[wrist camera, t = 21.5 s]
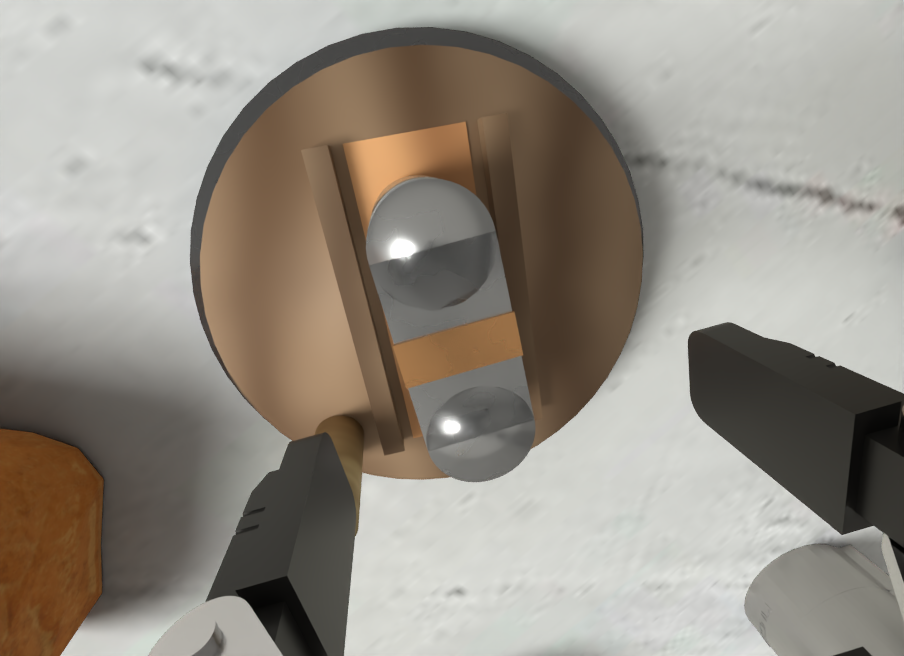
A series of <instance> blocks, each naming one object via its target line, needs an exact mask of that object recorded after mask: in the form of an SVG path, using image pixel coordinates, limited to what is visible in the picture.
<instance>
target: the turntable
mask: <svg viewBox="0 0 904 656" xmlns="http://www.w3.org/2000/svg"><path fill="white" fill-rule="evenodd" d="M411 175H424V176H429V177H434V178H438V179H443V180H447V181H451V182H454V183H456V184H459V185H461V186H463V187H465V188H466V189H468V190H469V191H471V192H472V193H473V194H475V195H476V196H477V197H478V198H479V199H480V200H481V202H482V203H483V204H484V206H485V207H486V208H487V210H488V212H489V214H490V216H491V218H492V220H493V223H494V226H495V230H496V235H497V240H498V244H499V249H500V254H501V259H502V264H503V269H504V274H505V278H506V283H507V288H508V293H509V298H510V303H511V308H512V311H514V312H515V317H516V321H517V326H518V331H519V336H520V341H521V346H522V351H523V355H522V361H523V366H524V371H525V376H526V381H527V386H528V390H529V395H530V400H531V405H532V410H533V415H534V420H535V437H534V441H533V444H532V446H531V449H532V448H533V447H535V446H537V445H539V444H540V443H541V442H543V441H544V440H546V439H547V438H549V437H550V436H551V435H553V434H554V433H556V432H557V431H558V430H560V429H561V428H562V427H563V426H564V425H565V424H566V423H568V422H569V421H570V420H571V419H572V418H573V417H574V416H576V415H577V414H578V412H579V411H580V410H581V409H582V408H583V407H584V406H585V405H586V404H587V403H588V402H589V400H590V399H591V398H592V397H593V396H594V395H595V393H596V392H597V390H598V389H599V388H600V386H601V385H602V384H603V382H604V381H605V380H606V378H607V377H608V375H609V373H610V372H611V370H612V368H613V366H614V365H615V363H616V361H617V359H618V358H619V356H620V354H621V352H622V349H623V347H624V345H625V342H626V340H627V338H628V335H629V333H630V330H631V327H632V323H633V320H634V317H635V313H636V310H637V306H638V300H639V294H640V288H641V282H642V263H643V250H642V238H641V227H640V222H639V217H638V213H637V208H636V204H635V199H634V196H633V194H632V191H631V188H630V185H629V183H628V180H627V177H626V174H625V172H624V170H623V168H622V166H621V164H620V163H619V161H618V159H617V157H616V155H615V153H614V151H613V149H612V147H611V146H610V144H609V143H608V142H607V140H606V139H605V138H604V136H603V135H602V133H601V132H600V131H599V129H598V128H597V126H596V125H595V124H594V122H593V121H592V120H591V119H590V118H589V117H588V116H587V115H586V114H585V113H584V112H583V111H582V110H581V109H580V108H579V107H578V106H577V105H576V104H575V103H574V102H573V101H572V100H571V99H570V98H569V97H567V96H566V95H565V94H563V93H562V92H561V91H559V90H558V89H557V88H556V87H554V86H553V85H552V84H550V83H549V82H548V81H546V80H544V79H543V78H541V77H539V76H537V75H535V74H534V73H532V72H530V71H528V70H527V69H525V68H523V67H521V66H519V65H517V64H514V63H511V62H509V61H506V60H504V59H501V58H498V57H496V56H493V55H490V54H487V53H482V52H478V51H473V50H469V49H464V48H459V47H451V46H435V45H413V46H402V47H390V48H385V49H381V50H377V51H373V52H369V53H364V54H360V55H356V56H353V57H351V58H348V59H346V60H343V61H341V62H339V63H336V64H334V65H331V66H329V67H327V68H324V69H322V70H320V71H319V72H317V73H315V74H314V75H312V76H310V77H309V78H307V79H305V80H304V81H302V82H300V83H299V84H297V85H296V86H294V87H292V88H291V89H290V90H289V91H288V92H286V93H285V94H284V95H283V96H282V97H280V98H279V99H278V100H277V101H276V102H274V103H273V104H272V105H271V106H270V107H268V108H267V109H266V110H265V111H264V113H263V114H262V115H261V116H260V117H259V118H258V119H257V121H256V122H255V123H254V124H253V125H252V126H251V127H250V128H249V130H248V131H247V132H246V133H245V134H244V135H243V137H242V139H241V140H240V142H239V143H238V145H237V146H236V148H235V149H234V151H233V153H232V154H231V156H230V157H229V159H228V160H227V162H226V164H225V166H224V168H223V170H222V173H221V175H220V177H219V179H218V182H217V184H216V186H215V188H214V191H213V193H212V196H211V200H210V204H209V207H208V211H207V214H206V218H205V222H204V227H203V235H202V243H201V251H200V279H201V291H202V297H203V303H204V309H205V315H206V318H207V322H208V325H209V328H210V331H211V334H212V337H213V341H214V344H215V346H216V348H217V350H218V352H219V354H220V356H221V358H222V361H223V363H224V365H225V367H226V369H227V371H228V372H229V374H230V375H231V377H232V378H233V380H234V381H235V383H236V384H237V386H238V387H239V389H240V391H241V392H242V393H243V395H244V396H245V397H246V398H247V399H248V400H249V402H250V403H251V404H252V405H253V406H254V407H255V409H256V410H257V411H258V412H259V413H260V414H261V415H262V416H263V417H264V418H265V419H266V420H267V421H268V422H270V423H271V424H272V425H273V426H274V427H275V428H276V429H277V430H278V431H279V432H281V433H282V434H284V435H285V436H287V437H288V438H289V439H291V440H292V441H295V440H298V439H302V438H306V437H309V436H313V435H316V434H320V433H324V432H326V433H328V434H329V436H330V437H331V439H332V441H333V444H334V446H335V449H336V451H337V454H338V456H339V459H340V461H341V464H342V466H343V469H344V471H345V474H346V476H347V479H348V481H349V484H350V486H351V489H352V492H353V496H354V500H355V506H356V529H355V536H356V534H357V531H358V523H359V509H360V494H361V480H362V472H363V473H367V474H371V475H376V476H383V477H390V478H396V479H435V478H447V477H450V476H448V475H446V474H445V473H444V472H442V471H441V470H440V469H439V468H438V467H437V466H436V465H435V464H434V462H433V461H432V459H431V457H430V455H429V453H428V450H427V446H426V443H425V440H424V437H423V434H422V431H421V428H420V424H419V421H418V418H417V415H416V412H415V409H414V406H413V402H412V399H411V396H410V393H409V390H408V389H406V386H405V383H404V380H403V377H402V374H401V371H400V367H399V364H398V361H397V358H396V355H395V352H394V349H393V345H394V343H393V339H392V336H391V333H390V330H389V327H388V324H387V320H386V317H385V314H384V311H383V308H382V305H381V302H380V298H379V295H378V292H377V289H376V286H375V283H374V280H373V276H372V273H371V270H370V267H369V263H368V259H367V253H366V237H367V231H368V226H369V222H370V218H371V214H372V210H373V207H374V204H375V202H376V200H377V198H378V196H379V195H380V193H381V192H382V191H383V190H384V189H385V188H386V187H387V186H388V185H389V184H391V183H392V182H394V181H396V180H398V179H400V178H403V177H405V176H411Z"/></svg>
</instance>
